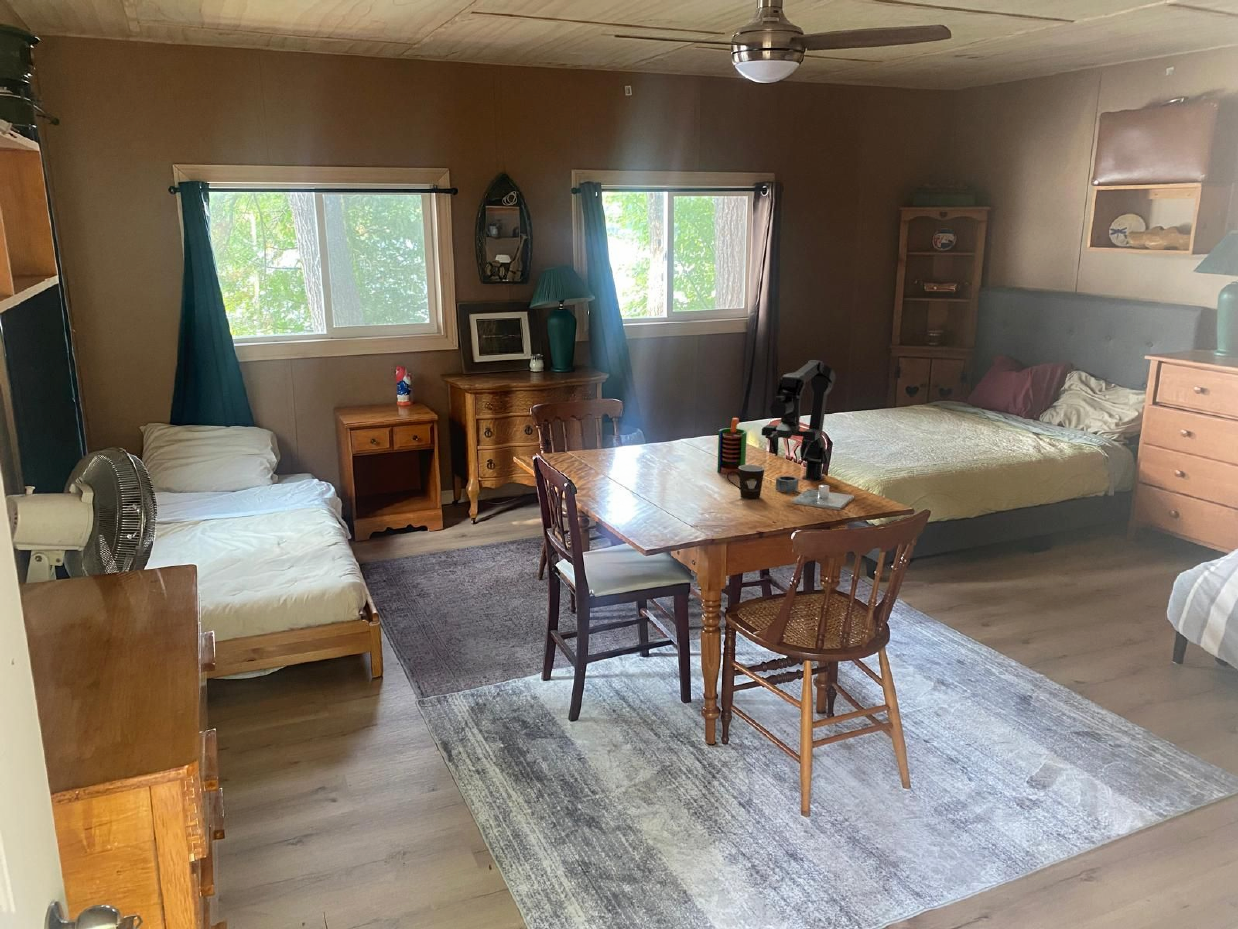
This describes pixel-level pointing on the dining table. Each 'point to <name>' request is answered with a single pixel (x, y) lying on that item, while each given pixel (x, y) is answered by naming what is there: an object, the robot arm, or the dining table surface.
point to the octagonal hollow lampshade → (787, 484)
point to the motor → (731, 448)
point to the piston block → (823, 498)
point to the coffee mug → (749, 481)
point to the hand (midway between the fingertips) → (789, 457)
